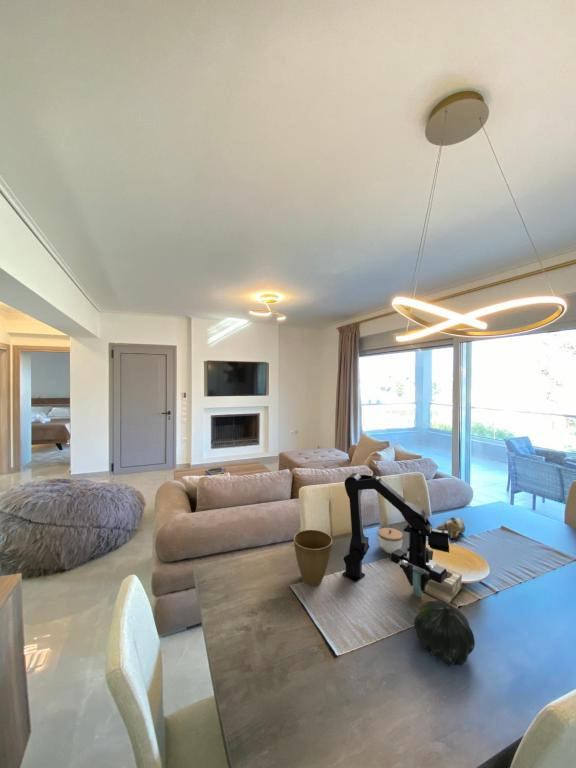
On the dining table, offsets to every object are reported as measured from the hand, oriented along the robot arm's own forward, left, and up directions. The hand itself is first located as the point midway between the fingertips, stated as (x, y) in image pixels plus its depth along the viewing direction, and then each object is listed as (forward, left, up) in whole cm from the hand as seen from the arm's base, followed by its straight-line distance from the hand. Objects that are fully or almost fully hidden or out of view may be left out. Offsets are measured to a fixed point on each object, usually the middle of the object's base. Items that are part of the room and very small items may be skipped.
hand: (417, 588), depth 112 cm
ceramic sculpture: (+57, +9, -2) cm, 58 cm away
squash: (-18, -16, -2) cm, 24 cm away
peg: (0, 0, -2) cm, 2 cm away
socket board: (+9, -4, -2) cm, 10 cm away
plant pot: (-22, +31, -2) cm, 38 cm away
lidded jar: (+20, +22, -2) cm, 30 cm away
